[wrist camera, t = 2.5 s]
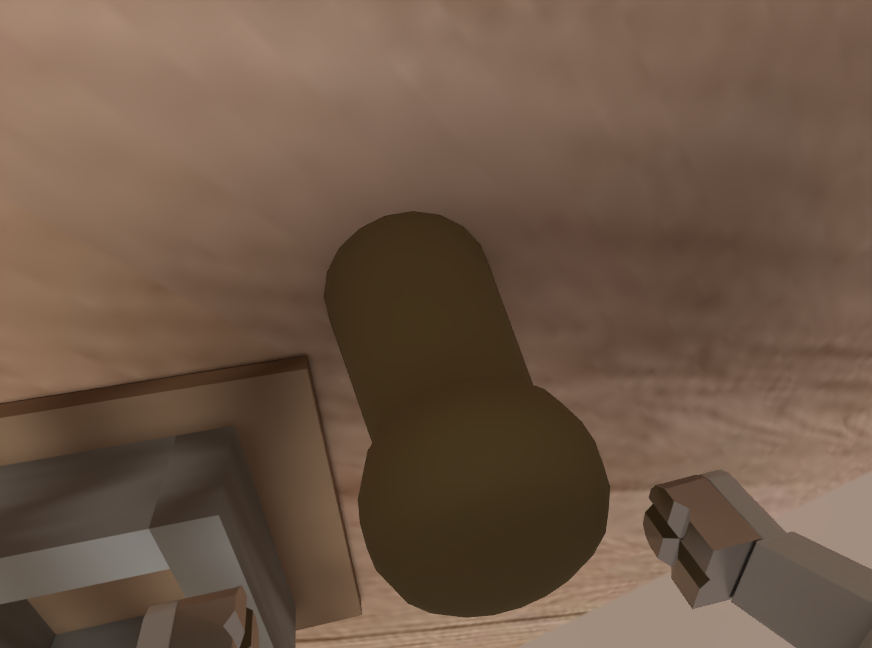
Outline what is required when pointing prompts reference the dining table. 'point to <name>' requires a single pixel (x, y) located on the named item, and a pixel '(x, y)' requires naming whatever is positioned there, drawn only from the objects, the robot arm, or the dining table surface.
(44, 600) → the socket block
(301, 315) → the dining table surface
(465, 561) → the cork
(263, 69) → the dining table surface
